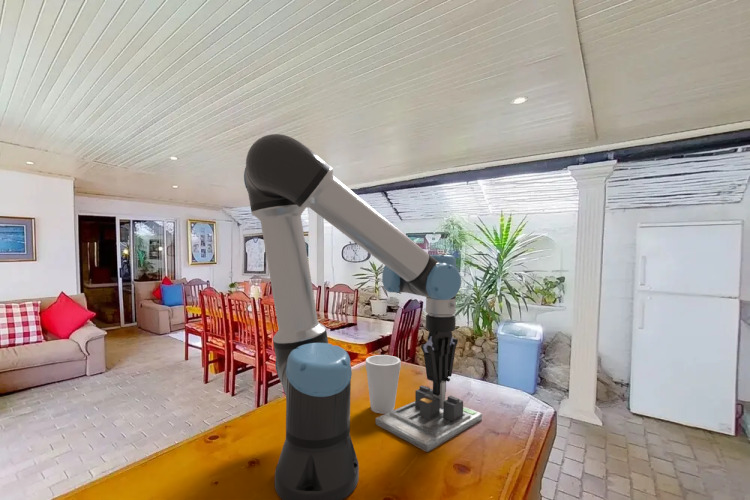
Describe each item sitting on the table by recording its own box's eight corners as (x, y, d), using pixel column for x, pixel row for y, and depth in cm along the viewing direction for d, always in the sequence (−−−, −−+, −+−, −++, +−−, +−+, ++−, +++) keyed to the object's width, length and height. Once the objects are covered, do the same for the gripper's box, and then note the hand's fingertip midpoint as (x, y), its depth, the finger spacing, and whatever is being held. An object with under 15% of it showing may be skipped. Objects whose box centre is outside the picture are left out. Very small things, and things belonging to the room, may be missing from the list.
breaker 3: (453, 422, 82) (453, 402, 82) (443, 417, 84) (443, 398, 84) (463, 417, 85) (463, 397, 85) (452, 412, 87) (452, 393, 87)
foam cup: (400, 402, 97) (401, 355, 97) (399, 417, 88) (400, 366, 88) (367, 400, 98) (367, 354, 98) (362, 415, 89) (363, 364, 89)
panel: (427, 452, 72) (427, 442, 72) (375, 424, 84) (375, 415, 84) (481, 419, 87) (482, 411, 87) (431, 399, 99) (431, 392, 99)
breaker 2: (428, 420, 83) (428, 400, 83) (418, 416, 85) (419, 396, 85) (439, 415, 86) (439, 395, 86) (430, 411, 88) (430, 392, 88)
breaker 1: (424, 409, 89) (424, 390, 89) (415, 405, 91) (415, 387, 91) (433, 405, 91) (433, 387, 92) (424, 401, 94) (425, 383, 94)
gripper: (437, 319, 82) (435, 419, 81) (467, 313, 91) (465, 404, 90) (413, 314, 87) (411, 408, 87) (443, 310, 96) (442, 395, 96)
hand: (439, 406), depth 88 cm, fingers closed
